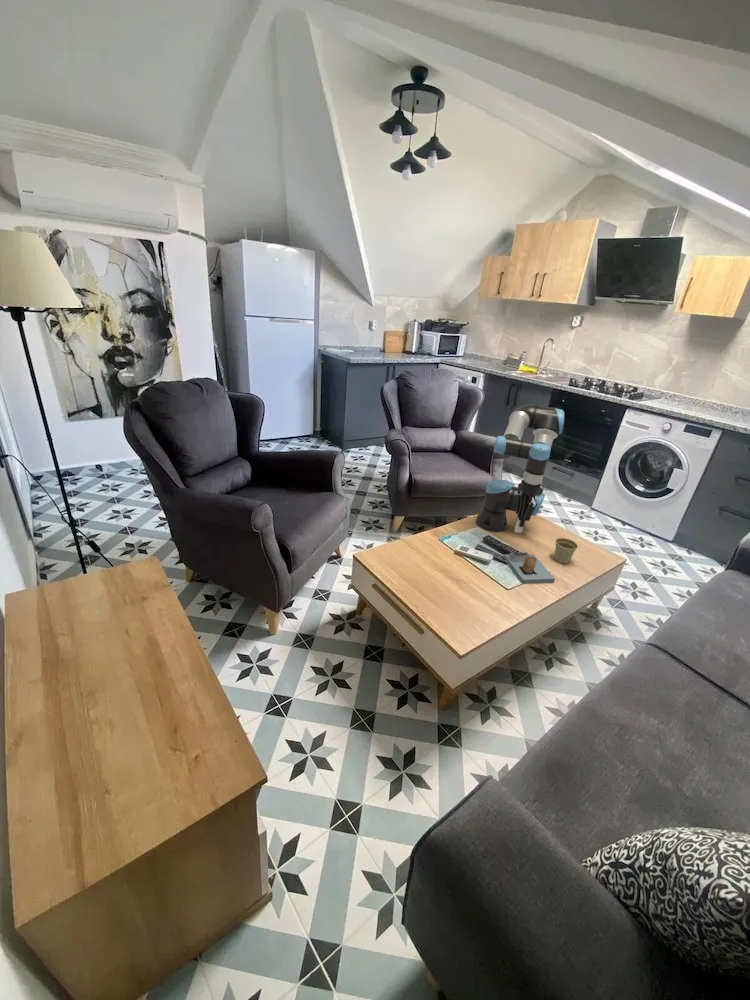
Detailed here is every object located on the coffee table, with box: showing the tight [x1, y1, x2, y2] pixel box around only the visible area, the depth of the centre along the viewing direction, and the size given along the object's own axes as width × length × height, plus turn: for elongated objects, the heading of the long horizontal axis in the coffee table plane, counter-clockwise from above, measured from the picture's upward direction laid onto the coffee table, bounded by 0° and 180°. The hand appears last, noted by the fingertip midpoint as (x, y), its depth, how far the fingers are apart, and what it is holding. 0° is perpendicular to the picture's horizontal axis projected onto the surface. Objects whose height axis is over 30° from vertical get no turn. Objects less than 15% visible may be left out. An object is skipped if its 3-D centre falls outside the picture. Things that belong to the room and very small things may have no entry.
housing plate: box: [503, 553, 556, 585], centre depth 175 cm, size 18×14×2 cm
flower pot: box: [554, 537, 579, 564], centre depth 184 cm, size 9×9×9 cm
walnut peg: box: [521, 555, 538, 575], centre depth 171 cm, size 4×4×8 cm
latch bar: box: [509, 551, 530, 562], centre depth 178 cm, size 3×8×3 cm, turn 99°
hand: (518, 531), depth 179 cm, fingers closed
